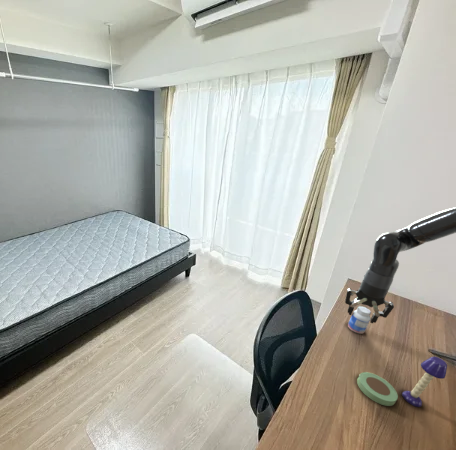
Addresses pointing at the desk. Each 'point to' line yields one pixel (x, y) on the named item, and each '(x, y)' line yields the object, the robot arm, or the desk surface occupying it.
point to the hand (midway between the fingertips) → (360, 317)
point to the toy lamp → (426, 379)
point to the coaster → (377, 389)
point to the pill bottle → (359, 320)
